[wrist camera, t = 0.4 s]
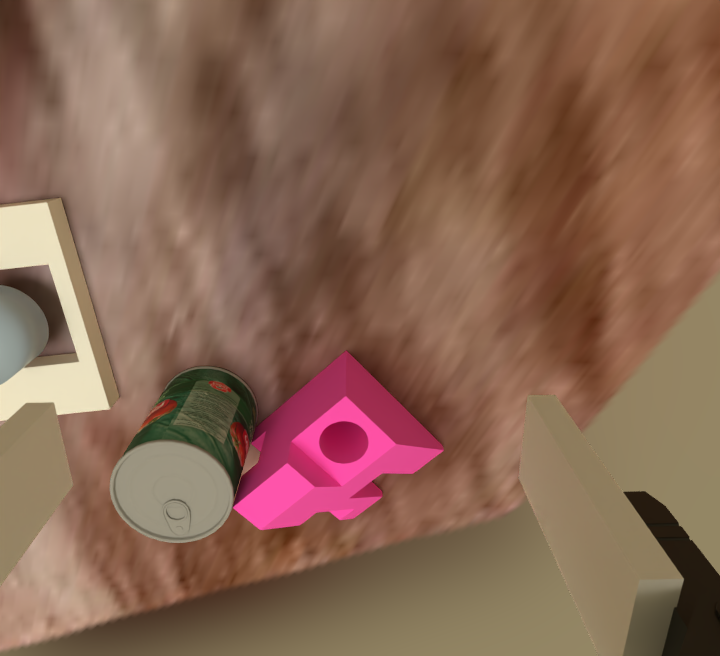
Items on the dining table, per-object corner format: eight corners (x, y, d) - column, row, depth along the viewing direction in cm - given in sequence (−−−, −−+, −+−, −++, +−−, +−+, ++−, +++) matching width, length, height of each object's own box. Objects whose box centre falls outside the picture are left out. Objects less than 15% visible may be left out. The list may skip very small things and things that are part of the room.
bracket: (255, 426, 48) (232, 507, 38) (346, 349, 45) (345, 415, 36) (353, 512, 51) (354, 606, 42) (442, 444, 49) (465, 528, 39)
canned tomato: (153, 367, 46) (97, 444, 35) (252, 363, 46) (224, 438, 35) (170, 452, 49) (122, 546, 38) (263, 448, 48) (240, 540, 38)
